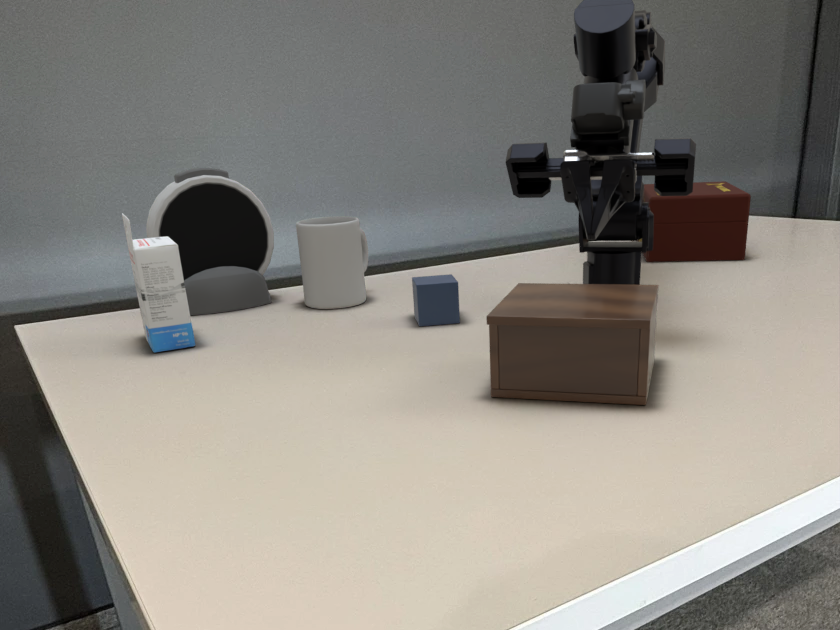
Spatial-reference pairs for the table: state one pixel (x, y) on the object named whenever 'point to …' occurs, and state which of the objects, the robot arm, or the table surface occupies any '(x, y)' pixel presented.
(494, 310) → the lid
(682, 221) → the box
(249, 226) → the alarm clock
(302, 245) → the mug
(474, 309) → the table surface
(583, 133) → the robot arm
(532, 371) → the box
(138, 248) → the ink box
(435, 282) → the block
